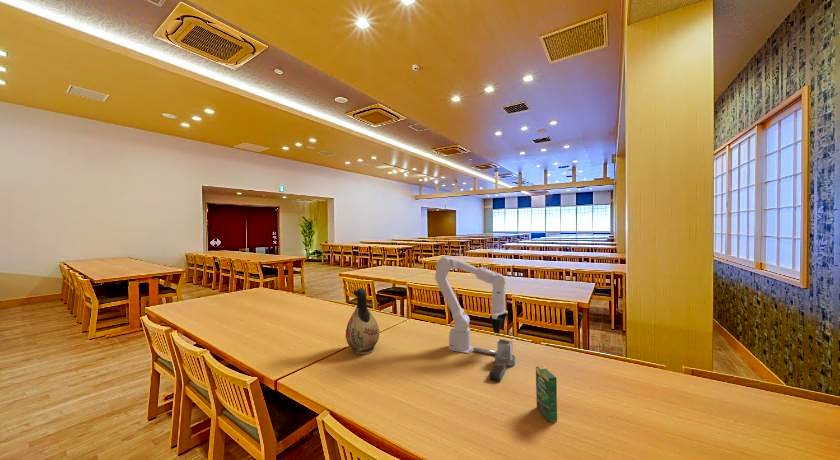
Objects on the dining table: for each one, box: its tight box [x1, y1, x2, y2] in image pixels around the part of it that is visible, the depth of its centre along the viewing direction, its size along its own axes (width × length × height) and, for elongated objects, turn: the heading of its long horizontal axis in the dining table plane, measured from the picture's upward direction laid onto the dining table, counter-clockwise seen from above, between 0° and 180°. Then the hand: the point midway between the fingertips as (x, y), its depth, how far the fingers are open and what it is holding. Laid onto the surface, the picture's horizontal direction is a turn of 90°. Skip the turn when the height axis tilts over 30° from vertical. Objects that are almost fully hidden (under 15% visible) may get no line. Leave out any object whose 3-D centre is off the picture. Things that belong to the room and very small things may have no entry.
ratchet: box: [489, 354, 516, 383], centre depth 123 cm, size 8×20×6 cm, turn 152°
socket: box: [496, 338, 514, 359], centre depth 128 cm, size 5×5×6 cm
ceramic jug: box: [345, 287, 380, 355], centre depth 142 cm, size 17×15×30 cm
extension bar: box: [472, 346, 497, 356], centre depth 138 cm, size 13×2×2 cm, turn 62°
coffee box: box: [535, 365, 558, 423], centre depth 94 cm, size 8×3×13 cm, turn 6°
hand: (498, 330), depth 140 cm, fingers open, 7 cm apart
